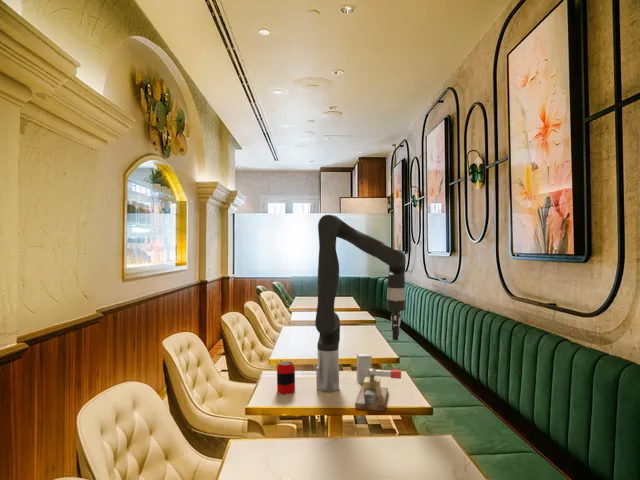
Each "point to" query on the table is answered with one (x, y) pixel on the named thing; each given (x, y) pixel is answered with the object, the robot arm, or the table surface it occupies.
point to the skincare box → (363, 366)
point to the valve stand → (372, 395)
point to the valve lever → (384, 373)
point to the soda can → (285, 377)
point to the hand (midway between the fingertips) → (395, 337)
